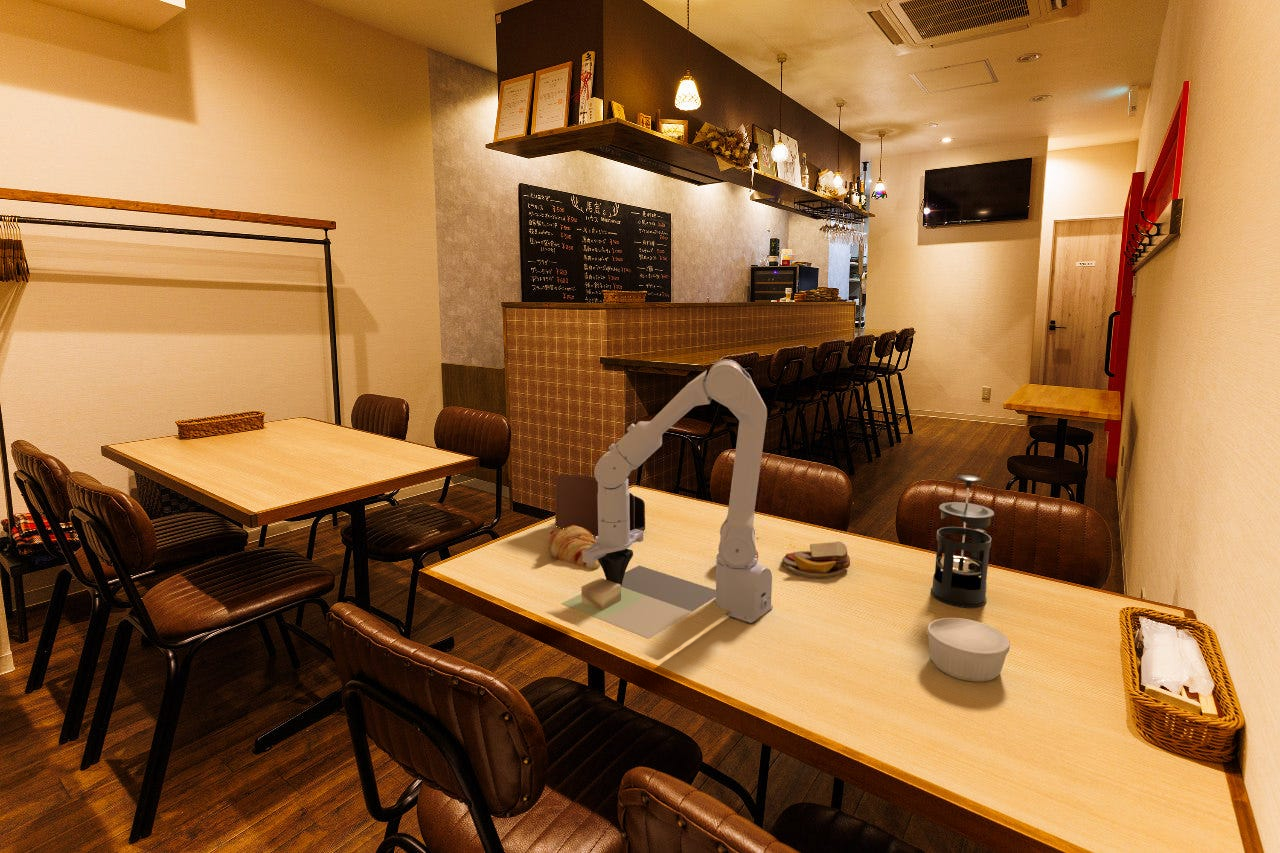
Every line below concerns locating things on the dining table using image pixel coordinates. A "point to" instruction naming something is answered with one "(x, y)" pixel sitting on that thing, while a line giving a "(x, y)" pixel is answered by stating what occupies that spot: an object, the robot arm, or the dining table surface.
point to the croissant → (572, 545)
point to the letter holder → (588, 504)
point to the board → (649, 602)
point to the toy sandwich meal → (818, 560)
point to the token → (601, 593)
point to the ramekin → (967, 648)
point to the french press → (962, 568)
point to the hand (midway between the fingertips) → (614, 588)
